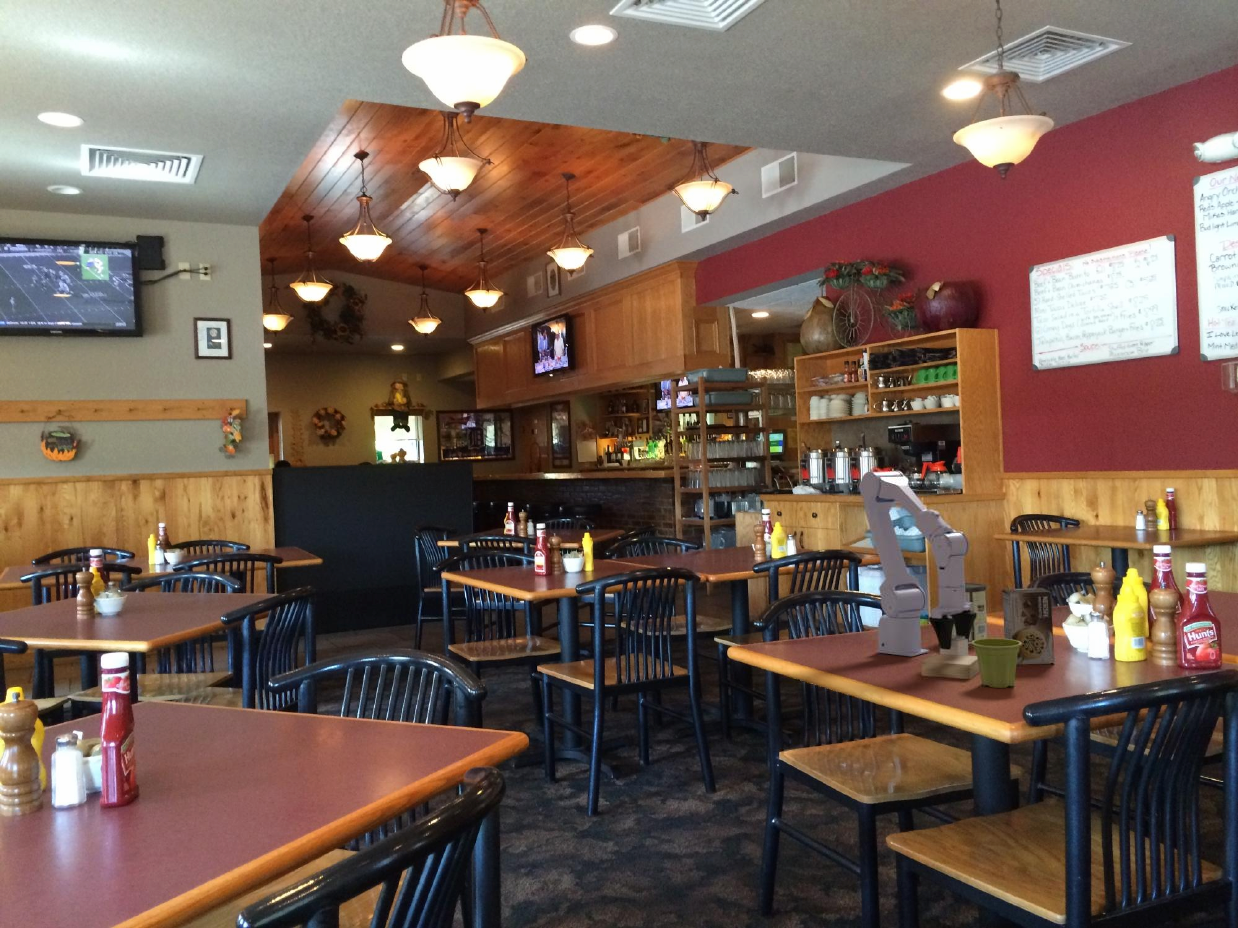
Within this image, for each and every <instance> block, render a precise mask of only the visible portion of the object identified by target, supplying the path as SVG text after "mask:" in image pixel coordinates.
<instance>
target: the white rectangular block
mask: <svg viewBox="0 0 1238 928" xmlns="http://www.w3.org/2000/svg"><path fill="white" fill-rule="evenodd" d="M939 654H951V655H966V656H969V644H968V639H965V636H956V635H952V639H951V648H950V649H949V650H947V649H941V648H940V647H939Z"/></svg>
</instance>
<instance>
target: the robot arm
mask: <svg viewBox="0 0 1238 928" xmlns="http://www.w3.org/2000/svg"><path fill="white" fill-rule="evenodd" d="M909 485H910V484H909V479H908V478H907V477H906V476H905V475H904V473H903V472H902V471H900V470H893V471H890V470H889V471H866V472H865V473H864V474H863V476H862V477H861V480H860V483H859V486H858V488H859V491H860V496H861V498H862V501H863V504H864V512H865V514H866V519H867V523H868V526H869V528H870V532H871V534H872V539H873V541H874V545H875V547H876V548H875V549H876V550H877V551H876V552H877V556H878V558H879V561H880V565H881V568H882V571H883V575H884V578H885V579H884V580H883V582H882V583H881V585H879V588H878V590H879V593H880V606H881V608H882V610H883V612H884V613H885V614H883V615H882V616H880V617H879V620H878V622H877V623H878V624H877V626H878V627H877V634H878V635H877V636H878V637H877V638H878V639H877V640H878V649H877V650H876V652H877V653H881V654H888V655H897V656H904V657H914V656H918V655H922V654H926V653H929V652H930V650H929V649H924V648H922V637H921V636H922V635H921V616H922V615H923V612H924V611H925V609H926V608H927V605H928V604H927V603H928V601H927V595H926V592H925V591H924V589H923V588H922V587H921V585H920V581H919V579H917V578H916V577H914V575H912V574H910V573H909V571H908V567H907V565H906V562H905V558H904V556H903V553H902V550H901V546H900V543H899V540H898V536H897V533H896V530H895V527H894V523H893V521H892V517H891V514H890V511H891V509H892V508H893V507H895V505H896V504H897V503H898V504H899V505H900V506H901V507H902V508H903V509H904V510H905V511H906V512H908V514H910V516H911V517H913V518H914V519H915V521H914V525H915V528H916V529H917V530H918V532H920V534H922V535H923V537H924V538H925V539H926V540H927V541H928V543H929V544H931V545H930V551H931V553H932V555H933V557H934V563H935V564H936V565H935V566H936V567H937V583H938V584H937V585H938V588H937V589H938V605H937V606H936V607H934V608H931V616H928V621H929V623H930V625H931V627H932V628H933V630H934V632H935V634H936V638H937V641H938V645H939V649H940V648H941V649H947V650H949V649H950V648H951V639H952V630H953V626H954V625H955V629H956V636H965V639H968V641H969V636H970V632H971V628H972V625H973V622H974V620H975V618H976V617H977V613H975V612H970V611H973V602H966V597H965V583H966V582H965V581H966V578H965V577H966V576H965V558H964V557H965V556H966V555H967V554H968V552H969V551H970V543H969V540H968V537H967V536H966V534H965V533H964V532H962V531H956V530H955V529H953V528H952V526H951V525H949V524H948V523H947V522H946V521H945V520H944V519H943V518H942V517H941V514H940V513H939V511H938V510H934V509H928V508H926V506H925V505H924V504H923V502H922V501H921V499H920V498H919V497H918V496H917V494H915V492H914V491H913V489H912V488H911V487H910V486H909ZM949 615H951V617H952V619H949V617H947V616H949Z"/></svg>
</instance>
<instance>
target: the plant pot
mask: <svg viewBox="0 0 1238 928" xmlns="http://www.w3.org/2000/svg"><path fill="white" fill-rule="evenodd" d="M971 645H972V646H973V648H974V652H975V654H976V656H977V659H978V664H979V670H980V672H979V675H980V679H981V680H980V681H981V684H982V685H983V686H985V687H986V686H988V687H990V688H993V689H994V688H995V689H996V688H998V689H1005V688H1008V687H1014V686H1015V683H1016V682H1015V681H1016V670H1017V665H1016V663H1017V655H1018V652H1019V648H1020V646H1021V645H1022V643H1021V642H1020V641H1017V640H1011V639H1005V638H994V637H992V638H989V637H988V639H977V640H974V641H972V644H971Z"/></svg>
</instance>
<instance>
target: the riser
mask: <svg viewBox="0 0 1238 928" xmlns="http://www.w3.org/2000/svg"><path fill="white" fill-rule="evenodd" d="M920 662H921V676H924V677H936V678H937V677H938V678H946V679H948V678H949V679H961V680H971V679H973V678H974V677H975V676H976V675H978V674H980V670H979V664H978V659H977V655H968V656H966V655H951V654H940V653H937V652H936V653H933V654H931V655H929V656H928V657H926V658H924V659H923V660H921V661H920Z"/></svg>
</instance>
